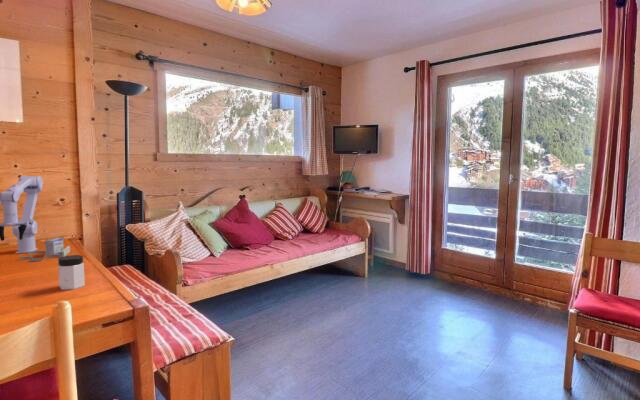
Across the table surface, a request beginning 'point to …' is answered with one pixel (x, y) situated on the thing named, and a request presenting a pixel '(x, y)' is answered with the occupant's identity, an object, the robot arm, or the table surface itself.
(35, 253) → the channel
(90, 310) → the table surface
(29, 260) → the grey plate
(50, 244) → the medicine box
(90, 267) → the table surface
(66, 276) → the jar
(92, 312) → the table surface
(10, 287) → the table surface
